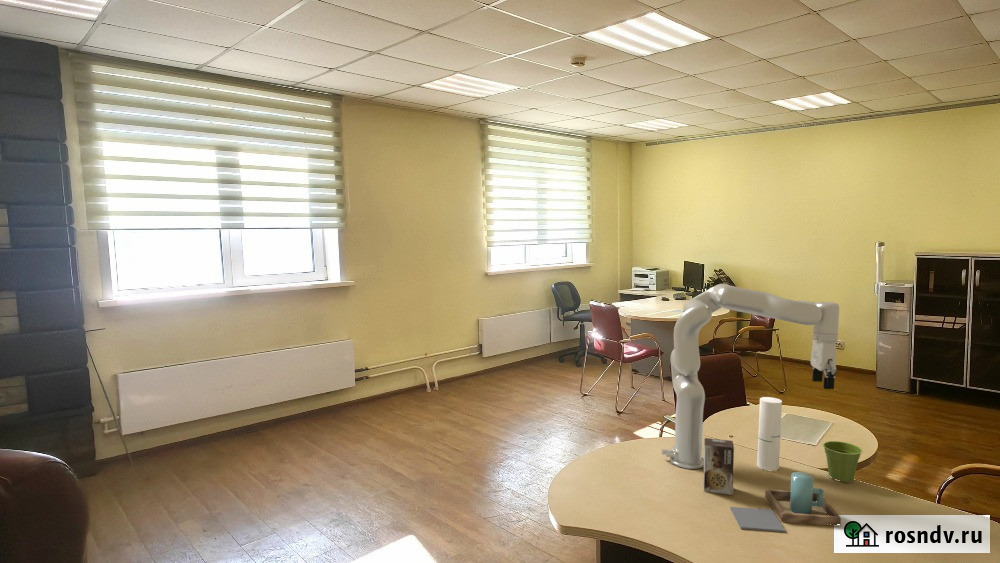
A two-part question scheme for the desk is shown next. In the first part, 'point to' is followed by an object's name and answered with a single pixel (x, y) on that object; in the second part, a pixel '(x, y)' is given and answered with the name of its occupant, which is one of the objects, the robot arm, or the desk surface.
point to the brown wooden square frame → (797, 517)
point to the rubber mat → (757, 519)
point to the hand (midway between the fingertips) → (822, 385)
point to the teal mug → (804, 493)
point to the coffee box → (718, 466)
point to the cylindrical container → (769, 433)
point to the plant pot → (842, 459)
